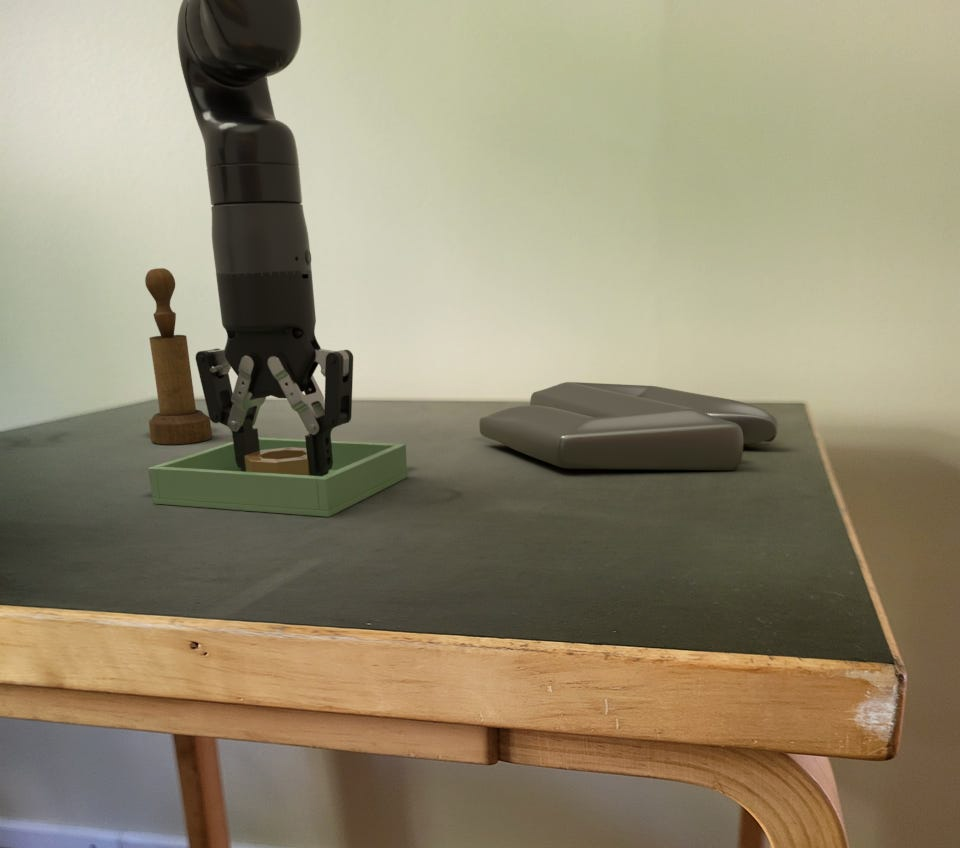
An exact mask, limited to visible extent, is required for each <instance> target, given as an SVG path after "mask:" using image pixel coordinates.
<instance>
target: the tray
mask: <svg viewBox="0 0 960 848" xmlns="http://www.w3.org/2000/svg"><path fill="white" fill-rule="evenodd" d="M258 438H259V447H260V450H267V449H276V448H286V447H295V448H306V440H305V439H303V438H302V439H300V438H277V437H258ZM331 446H332V457H333V465H332V469H330V470H329V472H328V474H327V475H324V476H322V477H321V476H308V475H291V474H275V473H258V472H242V471H241V468H240V467H238V466H237V463H236V460H235V452H234V451H235V450H234V444H233V441H230V442H227V443H223V444H219V445H218V446H214V447H211V448H208V449H205V450H201V451H198V452H195V453H192V454H188V455H186V456H183V457H179V458H176V459H173V460H169V461H166V462H163V463H160V464H157V465H153V466H149V467H148V468H147V472H148V478H149V485H150V492H151V498H152V503H153V505H164V506H165V505H168V506H179V507H190V508H191V507H193V508H207V509H219V510H231V511H232V510H233V511H245V512H256V513H257V512H258V513H271V514H283V515H284V514H285V515H297V516H298V515H299V516H310V517H323V518H329V517H331V516H334V515H335V514H338V513H340V512H342V511H344V510H345V509H347V508H349V507H351V506H354V505H356V504H357V503H359V502H362V501H364V500H365V499H368V498H370V497H372V496H373V495H375V494H377V493H379V492H382V491H383V490H385V489H387V488H389V487H392V486H393V485H395V484H397V483H399V482H401V481H403V480H405V479H407V478H408V463H407V461H408V460H407V445H406V444H405V443H385V442H366V441H365V442H363V441H343V440H342V441H341V440H331Z"/></svg>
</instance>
